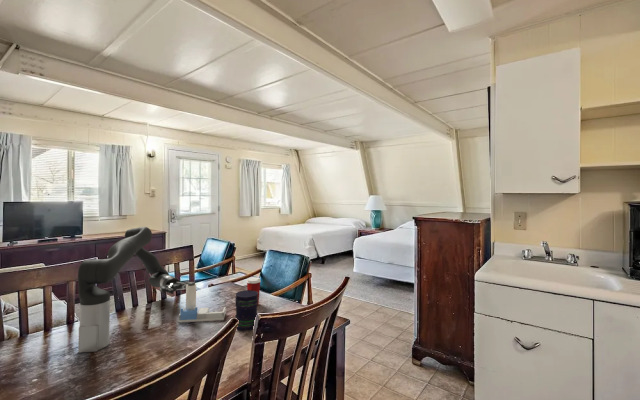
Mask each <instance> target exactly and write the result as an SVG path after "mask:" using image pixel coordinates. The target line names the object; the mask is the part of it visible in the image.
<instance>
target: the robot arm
mask: <svg viewBox="0 0 640 400" xmlns="http://www.w3.org/2000/svg"><path fill="white" fill-rule="evenodd" d="M124 233H125V234H124V238H122V239H121V240H118V241H117V242H115V243H114V244H113V245H112V246H111V247H110V248H109V249H108V252H107V257H108V258H104V259H103V258H100V259H98V258H97V259H84V260H83V261H82V262H81V263H80V265H79V267H78V269H77V282H78V283H77V285H78V298H79V325H78V342H77V343H78V344H77V345H78V350H77V351H78V353H79V354H80V353H92V352H93V353H94V352H98V351H100V350H101V349H104V348H105V347H107V346H109V344H110V325H111V324H110V323H111V322H110V317H111V314H110V313H111V293H110V292H109V291H107V290H105V289H102V288H100V287H99V286H97V285H102V284H108V283H109V282H112V280H114V278H115V277H116V276H117V274H118V273H119V271H120V270H121V269H122V268H123V267H124V265H125V264H126V263H127V262H128V261H129V260H131V259H132V258H133V257H134V256H137V257H138V259H139V260H140V261H141V262H142V264H143V267H144V268H145V270H146V271H147V273H148V274H149V275H150V276H149V277H148V279H147V280H148V281H147V282H148V283H149V285H150V286H152V287H154V288H159V291H160V293H161V294H166V293H167V294H171V295H174V292H177V291H178V290H181V291H184V290H186V285H187V284H188V283H189V282H190V281H187V280H186V281H184V282H181V281H180V280H179V279H178V278H176V277H174V276H172V275H170V273H169V272H168V271H167V270H166V269H165V268H163V266H162V265H161V264H160V261H159V259H158V258H157V256H156V255H155V254H154V253H152V252H150V251H149V250H147V249H145V248H144V247H146V245H148V244H150V243H151V241H152V239H153V238H152V237H153V232H152V230H151V229H150V228H149V227H147V226H140V227H135V228H131V229H127V230H126V231H125V232H124Z"/></svg>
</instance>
